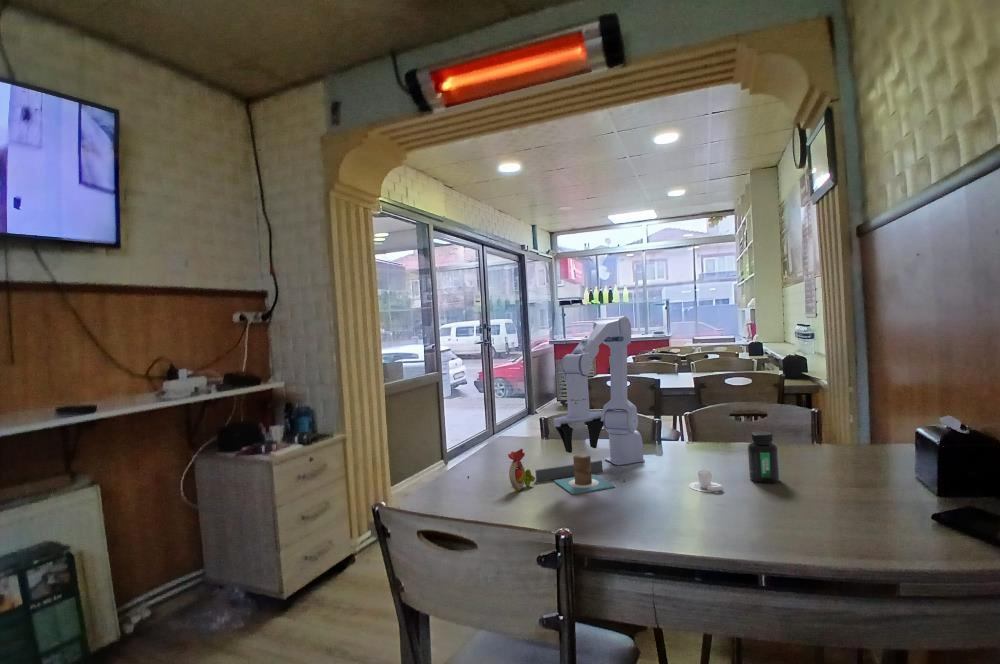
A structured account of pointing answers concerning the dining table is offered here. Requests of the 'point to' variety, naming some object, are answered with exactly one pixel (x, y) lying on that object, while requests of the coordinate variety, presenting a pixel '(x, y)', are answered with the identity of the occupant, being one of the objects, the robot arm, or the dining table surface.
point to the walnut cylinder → (582, 469)
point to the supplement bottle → (763, 458)
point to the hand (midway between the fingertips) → (581, 449)
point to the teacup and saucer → (706, 482)
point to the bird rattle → (519, 471)
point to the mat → (577, 489)
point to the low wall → (564, 471)
